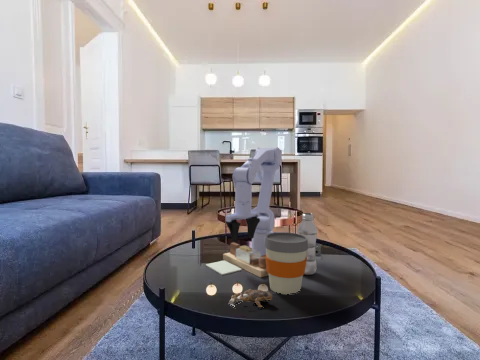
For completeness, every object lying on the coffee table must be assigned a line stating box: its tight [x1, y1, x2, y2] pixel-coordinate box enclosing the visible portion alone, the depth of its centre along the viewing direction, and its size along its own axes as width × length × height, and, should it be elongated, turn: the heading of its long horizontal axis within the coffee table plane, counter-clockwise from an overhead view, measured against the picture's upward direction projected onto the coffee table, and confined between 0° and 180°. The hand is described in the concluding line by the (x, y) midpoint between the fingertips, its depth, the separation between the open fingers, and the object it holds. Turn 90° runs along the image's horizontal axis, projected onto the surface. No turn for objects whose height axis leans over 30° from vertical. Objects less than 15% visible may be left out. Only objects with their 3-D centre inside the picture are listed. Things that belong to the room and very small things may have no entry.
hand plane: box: [222, 241, 269, 278], centre depth 103 cm, size 7×22×6 cm, turn 36°
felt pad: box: [205, 259, 243, 276], centre depth 100 cm, size 8×11×1 cm
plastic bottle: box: [297, 212, 318, 276], centre depth 96 cm, size 6×7×20 cm
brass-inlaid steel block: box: [236, 245, 262, 265], centre depth 103 cm, size 5×8×4 cm, turn 36°
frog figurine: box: [228, 288, 273, 308], centre depth 76 cm, size 12×12×4 cm
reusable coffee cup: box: [264, 231, 308, 295], centre depth 84 cm, size 13×13×15 cm
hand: (242, 239), depth 103 cm, fingers open, 7 cm apart
